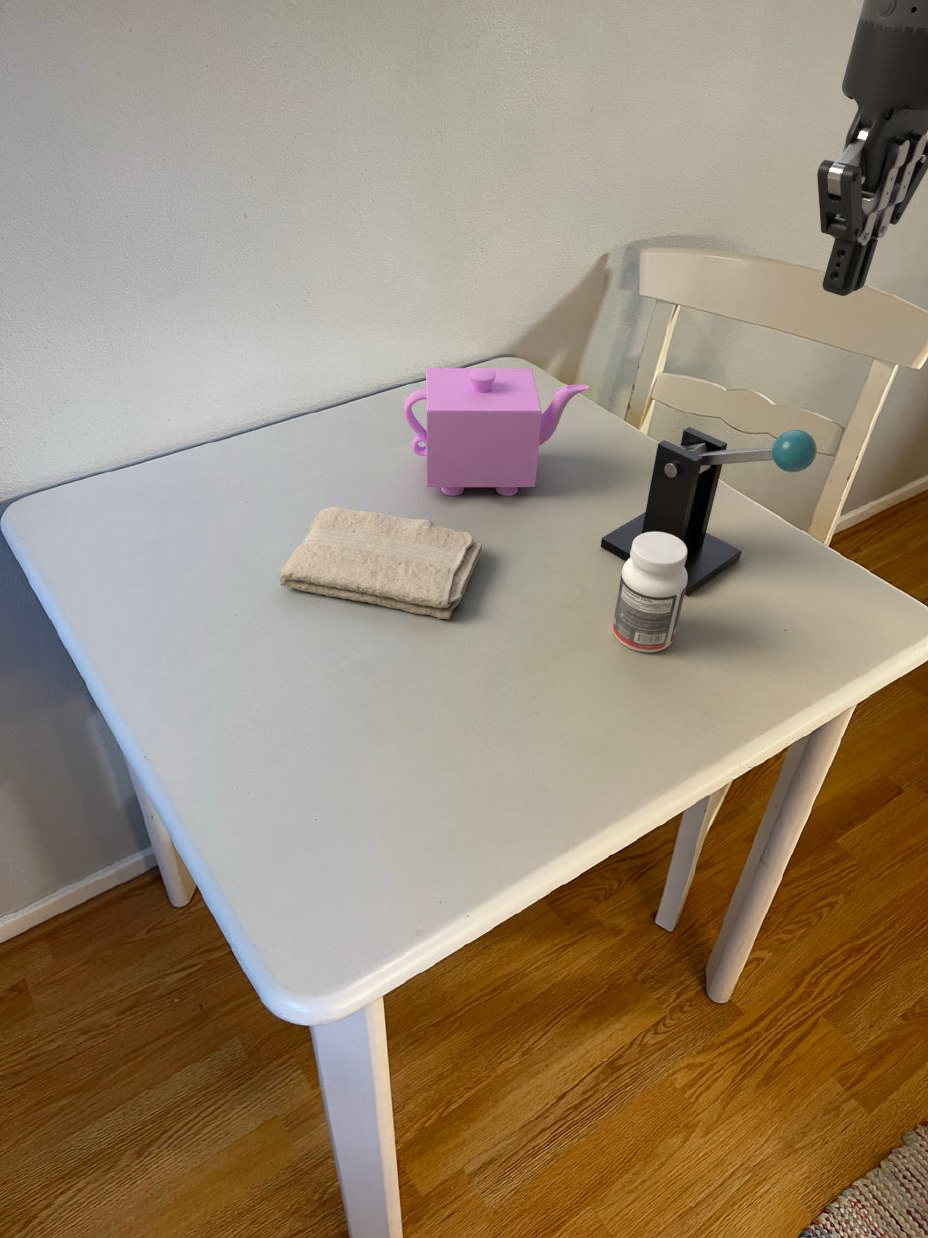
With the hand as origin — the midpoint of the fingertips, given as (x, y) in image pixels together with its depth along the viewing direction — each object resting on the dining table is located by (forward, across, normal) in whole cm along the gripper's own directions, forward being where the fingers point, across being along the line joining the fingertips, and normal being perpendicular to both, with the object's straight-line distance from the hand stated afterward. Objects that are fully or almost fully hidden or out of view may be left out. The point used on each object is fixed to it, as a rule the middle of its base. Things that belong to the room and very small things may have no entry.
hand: (842, 288), depth 68 cm
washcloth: (+30, -24, +27) cm, 47 cm away
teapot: (+30, -3, +33) cm, 45 cm away
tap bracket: (+30, 0, +10) cm, 32 cm away
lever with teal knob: (+18, 0, +4) cm, 18 cm away
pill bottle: (+30, -12, +4) cm, 33 cm away
